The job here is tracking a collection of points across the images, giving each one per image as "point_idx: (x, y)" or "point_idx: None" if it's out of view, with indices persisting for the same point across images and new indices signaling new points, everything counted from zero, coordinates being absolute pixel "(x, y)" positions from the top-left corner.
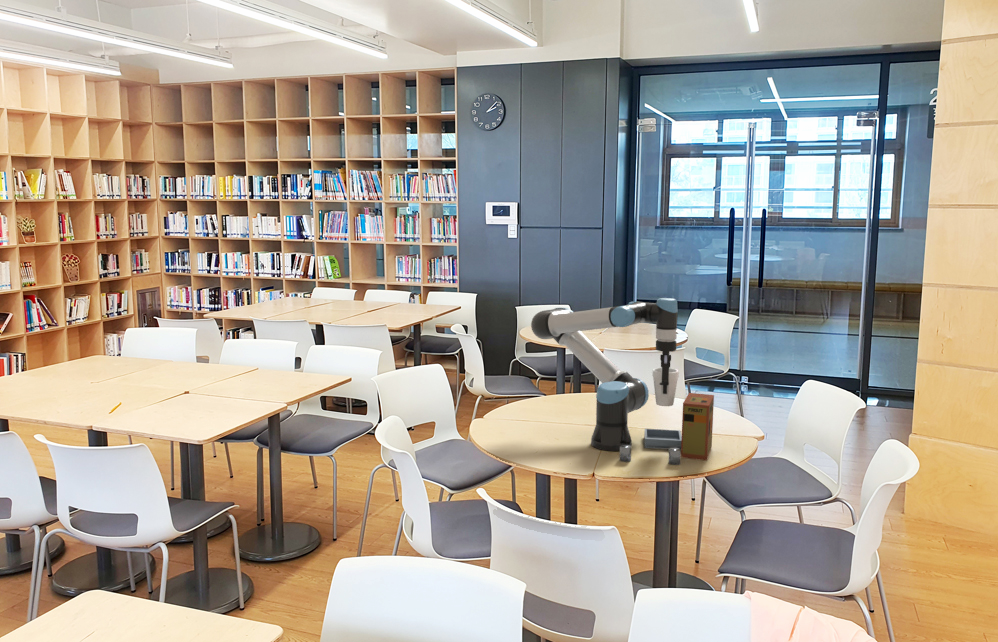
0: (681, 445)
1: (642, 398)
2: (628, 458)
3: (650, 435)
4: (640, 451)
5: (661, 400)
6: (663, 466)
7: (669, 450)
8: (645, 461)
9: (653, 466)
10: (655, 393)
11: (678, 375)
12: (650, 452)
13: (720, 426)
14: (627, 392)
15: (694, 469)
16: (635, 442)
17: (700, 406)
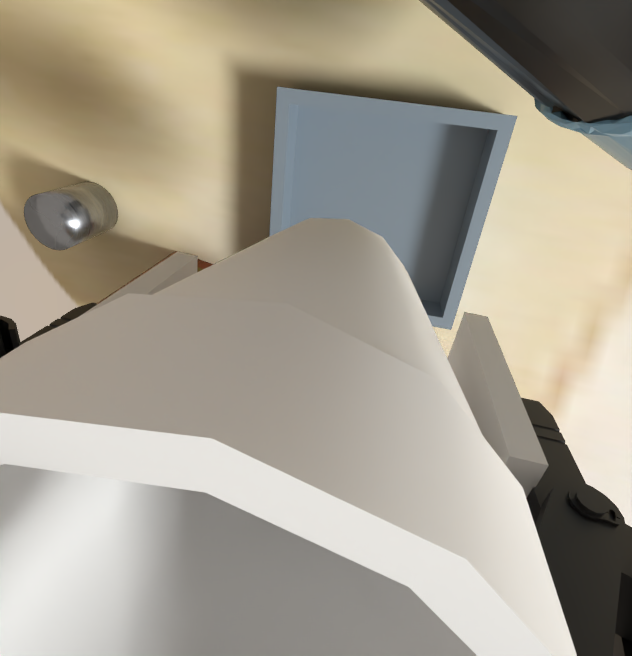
0: (147, 270)
1: (507, 64)
2: None
3: (481, 153)
4: (223, 52)
5: (168, 263)
6: (36, 149)
7: (36, 194)
8: (71, 64)
9: (18, 99)
10: (282, 234)
11: None
12: (216, 113)
13: (628, 511)
14: None
15: (51, 270)
16: (394, 35)
17: None
